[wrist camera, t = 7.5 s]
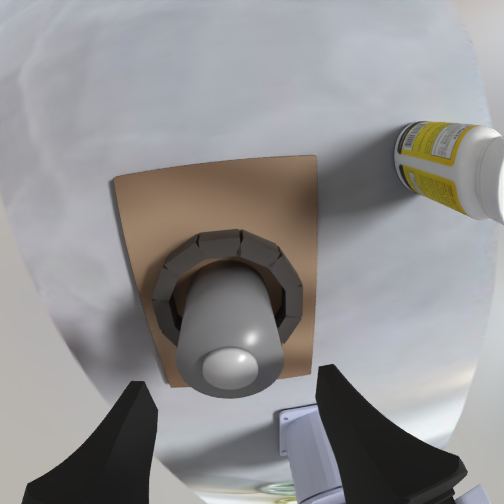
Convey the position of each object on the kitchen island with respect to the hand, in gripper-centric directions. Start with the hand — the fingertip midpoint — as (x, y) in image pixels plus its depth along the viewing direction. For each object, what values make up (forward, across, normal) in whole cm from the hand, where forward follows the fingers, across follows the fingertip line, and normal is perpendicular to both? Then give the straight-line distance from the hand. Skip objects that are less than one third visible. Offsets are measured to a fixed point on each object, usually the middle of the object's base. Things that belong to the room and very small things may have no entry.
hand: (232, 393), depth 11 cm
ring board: (+8, 0, 0) cm, 8 cm away
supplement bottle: (+8, -13, -8) cm, 17 cm away
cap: (+7, 0, 0) cm, 7 cm away
